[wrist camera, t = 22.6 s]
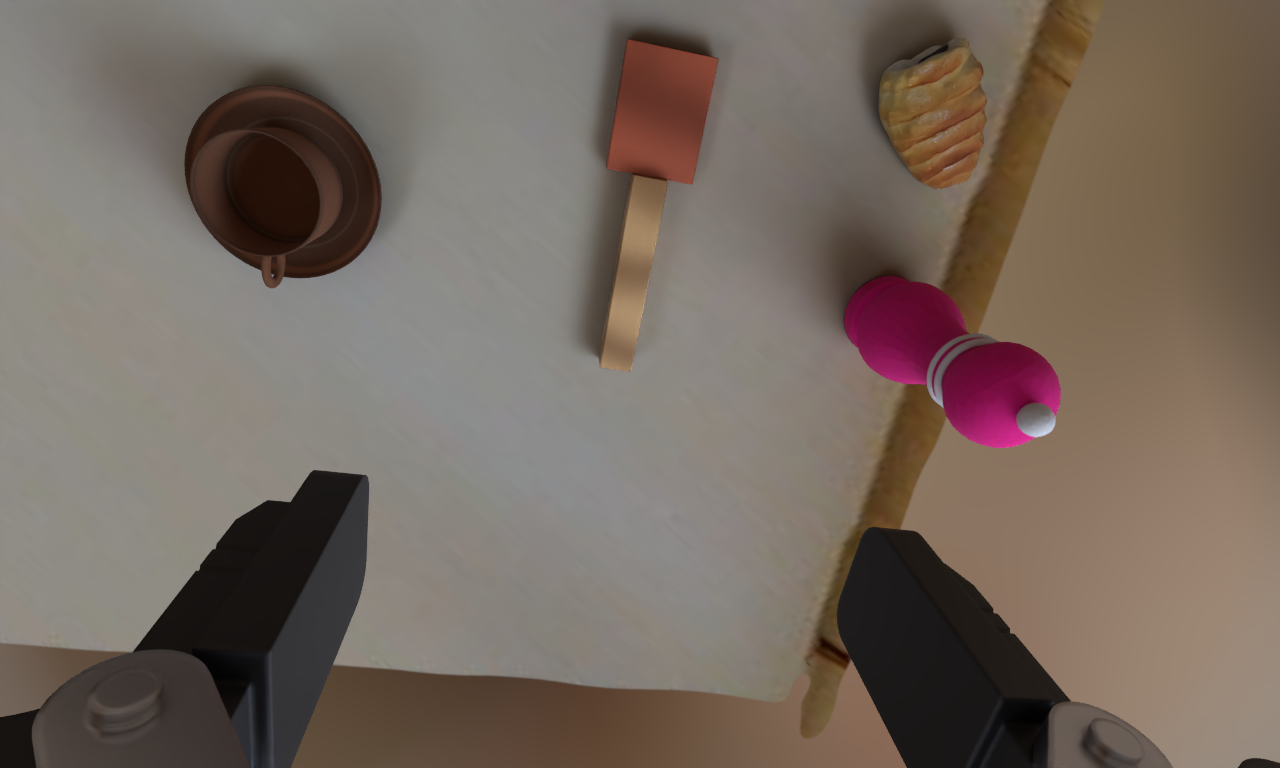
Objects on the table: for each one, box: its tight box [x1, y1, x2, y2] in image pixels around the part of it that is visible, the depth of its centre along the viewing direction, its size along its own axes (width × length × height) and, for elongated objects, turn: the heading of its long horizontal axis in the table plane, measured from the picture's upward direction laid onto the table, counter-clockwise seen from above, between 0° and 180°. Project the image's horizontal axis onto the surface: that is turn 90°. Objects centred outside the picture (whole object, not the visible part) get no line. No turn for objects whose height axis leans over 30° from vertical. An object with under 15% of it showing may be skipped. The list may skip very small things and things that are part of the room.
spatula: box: [599, 39, 718, 372], centre depth 48 cm, size 22×6×2 cm, turn 169°
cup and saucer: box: [185, 86, 382, 288], centre depth 43 cm, size 12×12×6 cm
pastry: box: [878, 38, 987, 189], centre depth 46 cm, size 9×7×4 cm
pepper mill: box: [844, 276, 1061, 448], centre depth 44 cm, size 7×7×20 cm
